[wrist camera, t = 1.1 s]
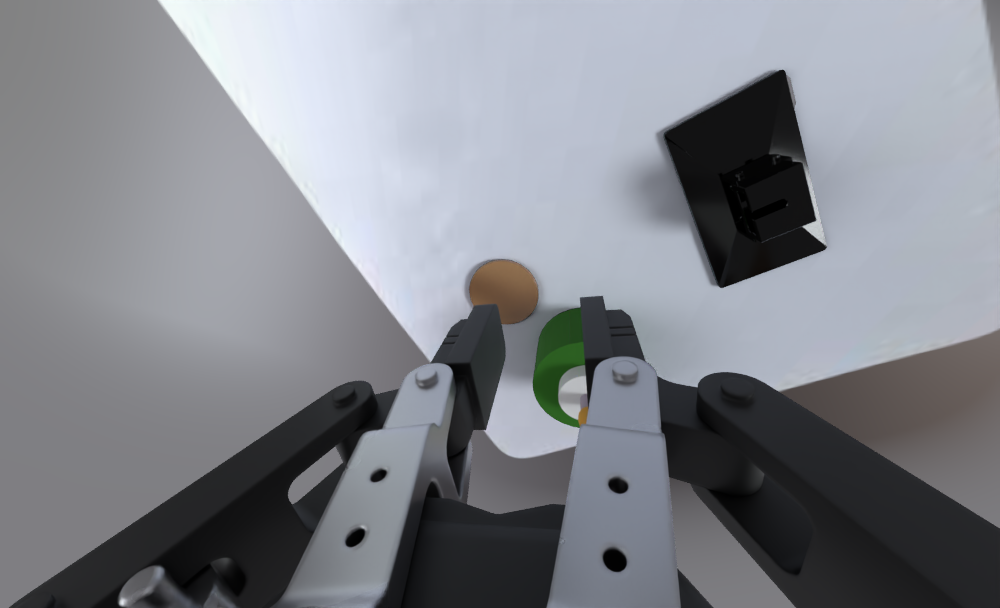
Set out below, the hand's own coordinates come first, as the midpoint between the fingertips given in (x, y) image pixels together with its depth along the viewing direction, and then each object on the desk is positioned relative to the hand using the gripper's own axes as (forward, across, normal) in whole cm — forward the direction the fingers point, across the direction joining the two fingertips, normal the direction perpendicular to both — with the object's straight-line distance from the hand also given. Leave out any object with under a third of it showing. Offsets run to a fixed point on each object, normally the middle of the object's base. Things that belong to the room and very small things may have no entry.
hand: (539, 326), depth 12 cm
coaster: (+17, +5, +6) cm, 19 cm away
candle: (+17, -1, +12) cm, 21 cm away
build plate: (+17, -13, 0) cm, 22 cm away
